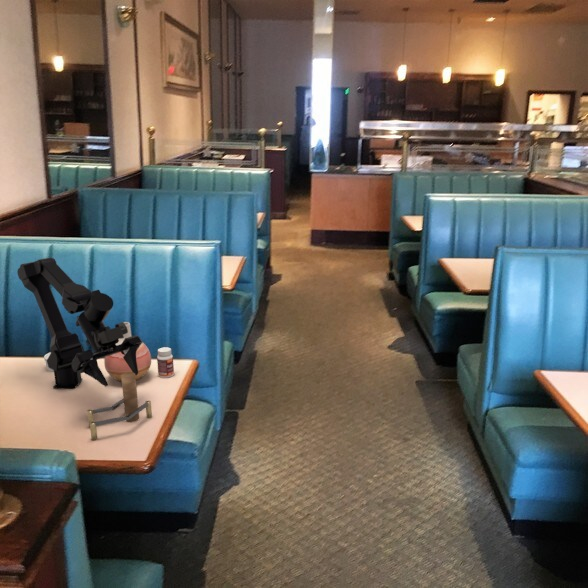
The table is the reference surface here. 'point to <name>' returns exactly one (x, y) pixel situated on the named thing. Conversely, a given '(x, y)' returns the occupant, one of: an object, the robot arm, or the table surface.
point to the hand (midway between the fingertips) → (122, 379)
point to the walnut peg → (130, 394)
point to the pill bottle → (165, 362)
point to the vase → (119, 366)
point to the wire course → (93, 424)
